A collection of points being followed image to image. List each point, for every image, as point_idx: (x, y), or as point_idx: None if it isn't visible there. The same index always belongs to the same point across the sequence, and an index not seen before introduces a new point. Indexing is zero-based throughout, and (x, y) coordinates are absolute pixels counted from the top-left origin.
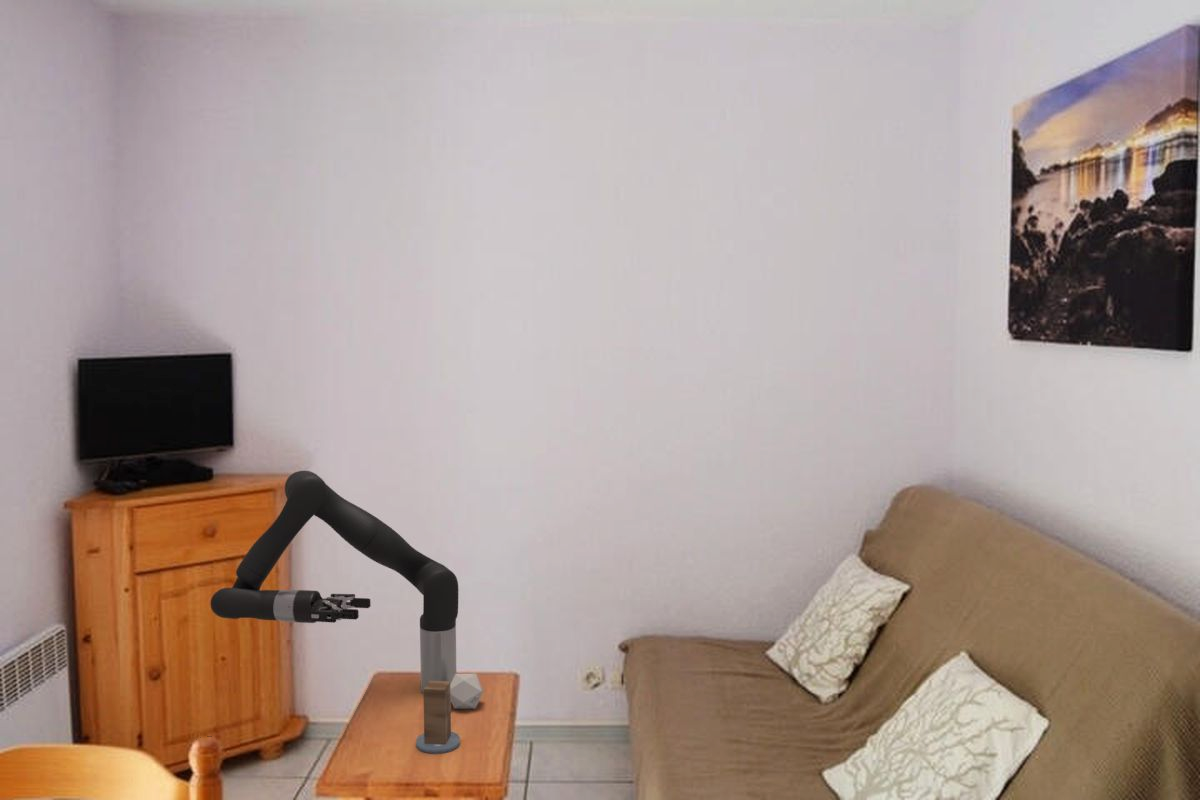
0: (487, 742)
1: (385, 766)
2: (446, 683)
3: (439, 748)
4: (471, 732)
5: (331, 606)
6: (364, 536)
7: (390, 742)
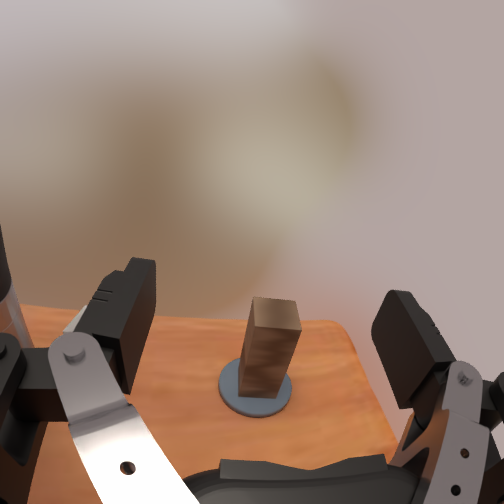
0: (238, 332)
1: (349, 439)
2: (263, 301)
3: (288, 376)
4: (204, 351)
5: (486, 432)
6: None
7: (259, 459)
